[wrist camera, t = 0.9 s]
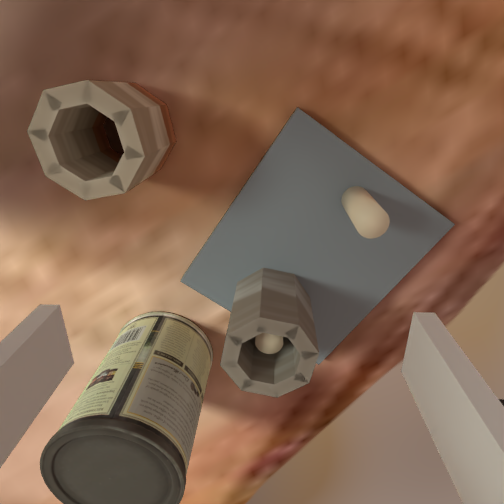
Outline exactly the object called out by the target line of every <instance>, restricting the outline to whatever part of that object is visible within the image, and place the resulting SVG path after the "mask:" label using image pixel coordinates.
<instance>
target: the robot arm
mask: <svg viewBox="0 0 504 504" xmlns="http://www.w3.org/2000/svg"><path fill="white" fill-rule="evenodd" d="M73 364H74V361H73V357H72V352H71V348H70V344H69V340H68V336H67V332H66V328H65V324H64V320H63V316H62V312H61V308H60V305H42V304H40V305H39V306H38V307H37V308H36V309H35V310H34V311H32V312H31V313H30V314H29V315H28V316H27V317H26V318H25V319H24V320H23V321H22V322H21V323H20V324H19V325H18V326H17V327H16V328H15V329H14V330H13V331H12V332H11V333H10V334H8V335H7V336H6V337H5V338H4V339H3V340H2V341H1V342H0V468H1V466H2V465H3V464H4V462H5V461H6V459H7V458H8V456H9V455H10V454H11V452H12V451H13V449H14V448H15V446H16V445H17V444H18V442H19V441H20V439H21V438H22V436H23V435H24V434H25V432H26V431H27V429H28V428H29V426H30V425H31V424H32V422H33V421H34V419H35V418H36V416H37V415H38V414H39V412H40V411H41V409H42V408H43V406H44V405H45V404H46V402H47V401H48V399H49V398H50V396H51V395H52V394H53V392H54V391H55V389H56V388H57V386H58V385H59V384H60V382H61V381H62V379H63V378H64V376H65V375H66V374H67V372H68V371H69V369H70V368H71V366H72V365H73ZM401 372H402V374H403V376H404V379H405V381H406V383H407V385H408V387H409V390H410V392H411V394H412V396H413V398H414V400H415V402H416V405H417V407H418V409H419V411H420V413H421V415H422V417H423V420H424V422H425V424H426V426H427V428H428V430H429V433H430V435H431V437H432V439H433V441H434V443H435V445H436V448H437V450H438V452H439V454H440V456H441V458H442V460H443V462H444V465H445V467H446V469H447V471H448V473H449V475H450V478H451V480H452V482H453V484H454V486H455V488H456V490H457V493H458V495H459V497H460V499H461V501H462V503H463V504H504V400H502V399H498V398H497V397H496V395H495V394H494V393H493V391H492V390H491V389H490V387H489V386H488V384H487V383H486V382H485V380H484V379H483V378H482V376H481V375H480V374H479V372H478V371H477V369H476V368H475V367H474V365H473V364H472V363H471V361H470V360H469V359H468V357H467V356H466V354H465V353H464V352H463V350H462V349H461V348H460V346H459V345H458V344H457V342H456V341H455V340H454V338H453V337H452V336H451V334H450V333H449V331H448V330H447V329H446V327H445V326H444V325H443V323H442V322H441V320H440V319H439V318H438V316H437V315H436V314H435V313H424V312H413V317H412V322H411V326H410V331H409V336H408V341H407V346H406V350H405V355H404V360H403V365H402V370H401Z"/></svg>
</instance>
